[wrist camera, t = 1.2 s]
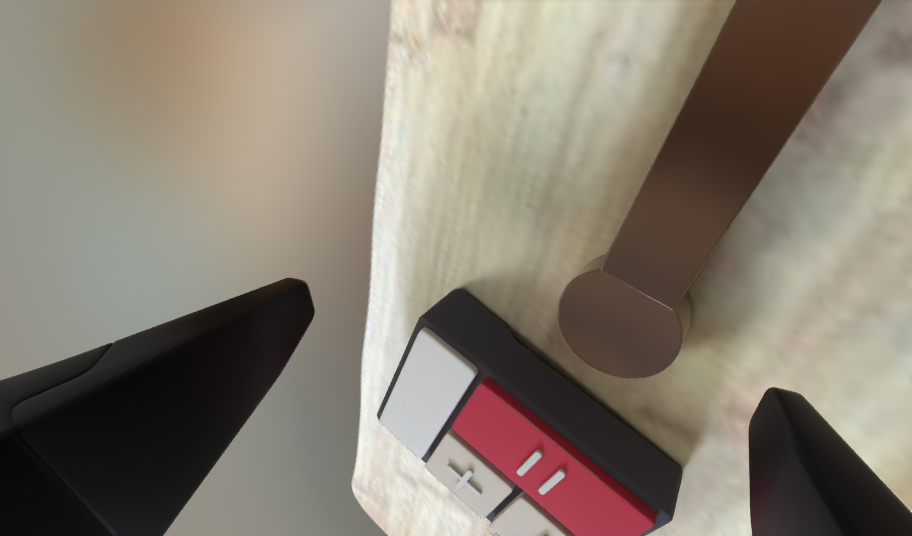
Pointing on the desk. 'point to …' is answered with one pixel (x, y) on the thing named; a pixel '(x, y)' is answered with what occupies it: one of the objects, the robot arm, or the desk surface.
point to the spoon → (705, 178)
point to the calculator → (520, 433)
